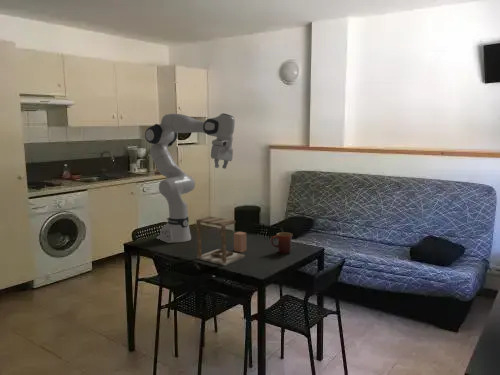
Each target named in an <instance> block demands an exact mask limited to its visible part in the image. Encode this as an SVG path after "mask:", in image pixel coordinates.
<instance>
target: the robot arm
mask: <svg viewBox="0 0 500 375" xmlns="http://www.w3.org/2000/svg"><path fill="white" fill-rule="evenodd" d="M234 132H235V117H234V116H233V115H231V114H227V113H220V114H219V115H218V116H215V117H211V118H207V119H205V121H201V120H198V119H196V118H194V117H192V116H189V115H186V114H182V113H181V114H180V113H168V114H165V115H164V116H163V117H162V118H161V121H160V123H159V124H158V123H155V124H153V125H151V126H149V127H147V128H146V130H145V133H144V137H145V141H146V142H148V143H149V144H151V146H150V147H149V153H150V156H151V158H152V161H153V163H154V165H155V167H156V168H157V170H158V173H159V174H160V175H161V176H163V177H165V179H162V180H161V181H160V182H159V185H158V191H159V193H160V195H162V196H163V197H164V198H165V200H166V201H167V204H168V213H169V215H168V216H169V217H166V221H167V223H166V224H165V225H164V226H162V227H161V229H160V231H159V232H160V235H157V236H156V240H159V239H160V240H159V241H162V242H165V243H167V244H171V243H172V244H173V243H185V242H189V241H191V240H192V234H191V231H190V225H189V220H190V219H189V215H188V203H187V202H185V201H183V198H182V195H184V194H188V193H190V192H192V191H193V190H194V189H195V186H196V181H195V180H194V178H193V177H192V176H190V175H188V174H186V173H185V172H184V171H183V170H182V169H181V168H180V167H179V166H178V165H177V164H176V162H175V160H174V158H173V157H172V155H171V153H170V151H169V150H168V147H172V145H173V143H175V142H176V140H177V138H178V133H179V134H190V133H191V134H192V133H195V134H196V133H202V134H203V133H204V134H206V135H208V136H211V137H216V138H215V139H213V140H211V149H210V150H211V151H210V157H211V159H212V160H213V159H214V168H216V169H219V168H220V163H219V162H220V161H223V165H222V169H225V170H226V169H227V167H228V163H229V162H232V161H233V158H234V157H233V155H234V151H233V150H234V148H233V140H234V138H233V134H234Z"/></svg>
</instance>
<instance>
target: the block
mask: <svg viewBox="0 0 500 375" xmlns="http://www.w3.org/2000/svg"><path fill="white" fill-rule="evenodd" d="M247 248H248V246H247V232H243V231H237V232H234V233H233V252H236V253H243V252H246V251H247V250H248V249H247Z"/></svg>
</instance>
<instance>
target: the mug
mask: <svg viewBox="0 0 500 375" xmlns="http://www.w3.org/2000/svg"><path fill="white" fill-rule="evenodd" d="M274 238H276V239H277V244H274V240H273V239H274ZM292 238H293V233H291V232H286V231H285V232H284V231H283V232H277V233H276V235H273V236H271V237H270V244H271V245H272V247H275V248H277V251H278V252H277V253H279V254H280V255H281V254H282V255H288V254H290V253H291V252H292Z"/></svg>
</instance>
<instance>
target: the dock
mask: <svg viewBox="0 0 500 375" xmlns="http://www.w3.org/2000/svg"><path fill="white" fill-rule="evenodd" d="M195 221H196V239H197V242H196V243H197V244H196V245H197V258H196V259H198V260H201V261H206V262H209V263H213V264H217V265H221V266H227V265H229V264H231V263H234V262H237V261H239V260H241V259H244V258H245V257H246V254H241V253H239V252H235V251H228V250H227V243H226V242H227V237H226V227H227V226H231V225H234V224H236V220H233V219H229V218H221V217H215V216H209V215H208V216H204V217H200V218H197V219H196V218H195ZM201 224H205V225H213V226H216V227H217V226H219V227H221V248H217V249H215V250H214V249H213V250H211V251H209V252H206V253H203V254H202V231H201V230H202V229H201V228H202V227H201Z"/></svg>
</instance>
